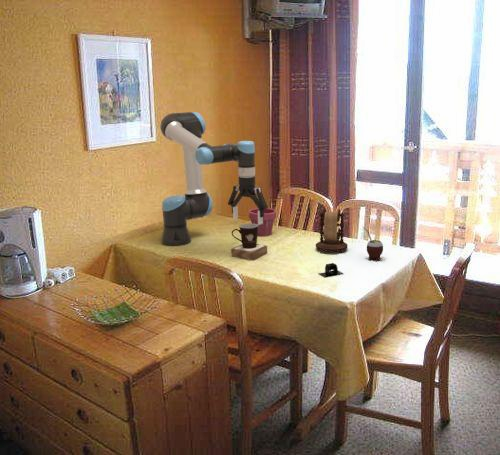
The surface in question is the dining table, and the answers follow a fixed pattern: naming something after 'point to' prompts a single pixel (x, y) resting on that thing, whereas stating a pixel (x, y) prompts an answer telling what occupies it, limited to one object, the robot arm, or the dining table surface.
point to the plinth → (249, 252)
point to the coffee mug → (248, 235)
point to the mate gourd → (374, 248)
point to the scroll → (331, 232)
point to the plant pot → (267, 223)
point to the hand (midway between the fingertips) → (247, 222)
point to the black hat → (328, 271)
